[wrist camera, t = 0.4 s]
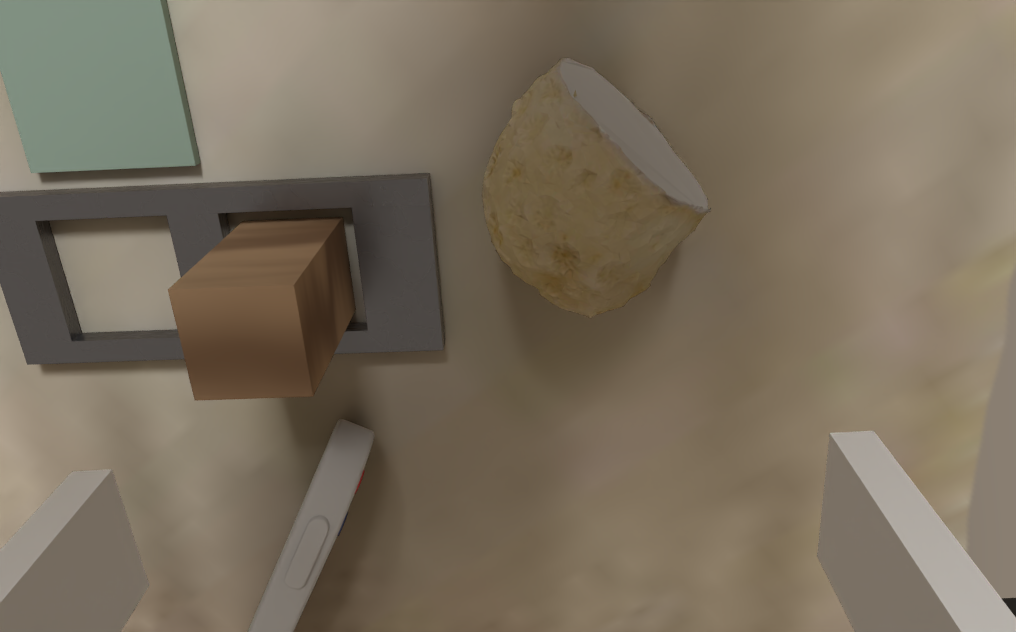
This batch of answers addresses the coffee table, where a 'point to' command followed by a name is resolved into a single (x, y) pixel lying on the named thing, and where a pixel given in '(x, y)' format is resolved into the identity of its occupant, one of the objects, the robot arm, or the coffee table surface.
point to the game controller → (314, 528)
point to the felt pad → (95, 84)
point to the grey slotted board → (198, 229)
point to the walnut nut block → (265, 309)
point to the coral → (586, 192)
